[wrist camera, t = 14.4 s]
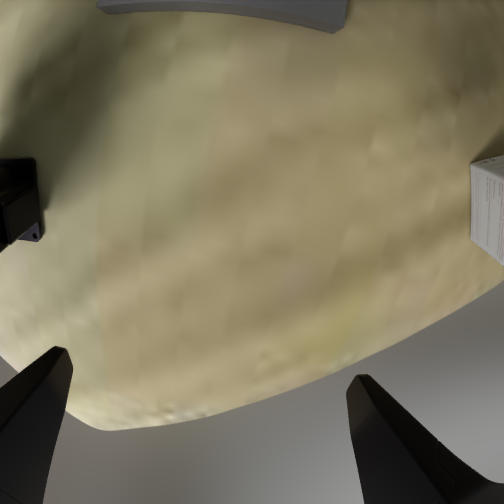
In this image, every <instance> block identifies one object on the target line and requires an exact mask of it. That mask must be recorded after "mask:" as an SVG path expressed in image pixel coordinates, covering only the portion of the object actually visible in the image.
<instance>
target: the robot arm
mask: <svg viewBox="0 0 504 504" xmlns="http://www.w3.org/2000/svg"><path fill="white" fill-rule="evenodd" d="M28 163H30V165H31V166H30V167H29V164H28ZM35 233H36V234H37V236H36V235H35ZM41 238H42V229H41V221H40V210H39V200H38V188H37V177H36V162H35V160H34V158H32V157H22V158H0V253H1V252H2V251H3V250H4V249H5V248H6V247H8V246H9V245H11V244H13V243H14V242H15V241H16V240H17V239H18V240H25V241H33V242H38V241H39V240H40V239H41ZM72 374H73V365H72V362H71V359H70V356H69V353H68V351H67V349H66V348H63V347H59V346H54V347H52V348H51V349H50V350H48V351H47V352H46V353H44V354H43V355H42V356H40V357H39V358H38V359H37V360H35V361H34V362H33V363H31V364H30V365H29V366H27V367H26V368H25V369H24V370H22V371H21V372H20V373H19V374H17V375H16V376H15V377H13V378H12V379H11V380H10V381H8V382H7V383H6V384H5V385H4V386H2V387H1V388H0V504H43V498H44V492H45V488H46V483H47V478H48V474H49V469H50V464H51V461H52V456H53V452H54V449H55V444H56V441H57V437H58V433H59V430H60V427H61V423H62V419H63V416H64V413H65V408H66V403H67V398H68V393H69V388H70V383H71V379H72ZM346 399H347V407H348V417H349V426H350V434H351V440H352V444H353V449H354V454H355V458H356V463H357V467H358V473H359V478H360V483H361V488H362V493H363V498H364V504H504V484H503V483H496V482H493V481H490V480H488V479H486V478H485V477H483V476H482V475H481V474H479V473H478V472H476V471H475V470H474V469H472V468H471V467H470V466H468V465H467V464H466V463H464V462H463V461H462V460H461V459H459V458H458V457H457V456H455V455H454V454H453V453H452V452H451V451H450V450H449V449H447V448H446V447H445V446H444V445H443V444H442V443H441V442H440V441H438V440H437V438H435V437H434V436H433V435H432V434H431V433H430V432H429V431H428V430H427V429H426V428H425V427H424V426H423V425H422V424H421V423H420V422H418V421H417V420H416V419H415V418H414V417H413V416H412V415H411V414H410V413H409V412H408V411H407V410H406V409H404V408H403V407H402V406H401V405H400V404H399V403H398V402H397V401H396V400H395V399H394V398H393V397H392V396H391V395H390V394H389V393H388V392H387V391H385V389H384V388H382V387H381V386H380V385H379V384H378V383H377V382H376V381H375V380H374V379H373V378H372V377H371V376H370V375H368V374H359V375H356V376H355V377H354V379H353V381H352V382H351V384H350V386H349V387H348V389H347V392H346Z"/></svg>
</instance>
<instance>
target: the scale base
mask: <svg viewBox="0 0 504 504" xmlns="http://www.w3.org/2000/svg"><path fill="white" fill-rule="evenodd" d="M347 2H348V0H98V2H97V6H96V7H97V8H99V9H100V10H102V11H104V12H105V13H107V14H117V13H129V12H145V11H196V12H213V13H225V14H235V15H243V16H250V17H257V18H264V19H270V20H275V21H281V22H286V23H291V24H295V25H300V26H304V27H308V28H312V29H316V30H320V31H324V32H328V33H331V34H334V33H335V32H337V31H339V30H340V29H342V28H344V23H345V16H346V9H347Z"/></svg>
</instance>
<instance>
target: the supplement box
mask: <svg viewBox="0 0 504 504" xmlns="http://www.w3.org/2000/svg"><path fill="white" fill-rule="evenodd" d="M470 172H471V234H470V240H472V241H473V242H475V243H476V244H477V245H478V246H480V247H481V248H482V249H483V250H485V251H486V252H487V253H488V254H490V255H491V256H492V257H493V258H494V259H496V260H497V261H498V262H499V263H500V264H502V265H503V266H504V155H501V156H497V157H493V158H489V159H485V160H481V161H477V162H474V163H471V164H470Z"/></svg>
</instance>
